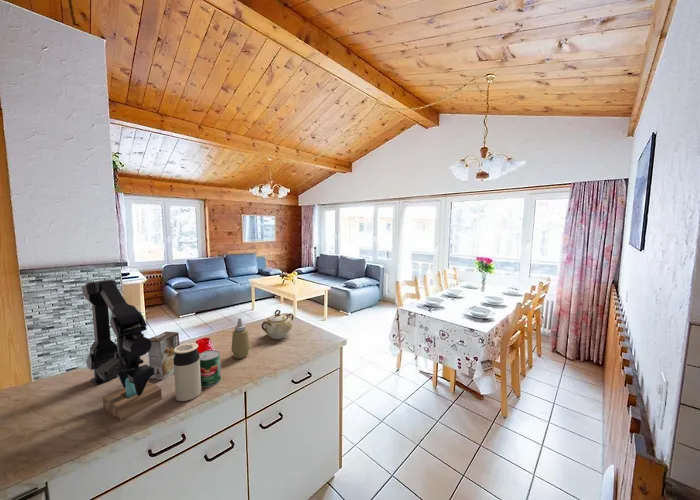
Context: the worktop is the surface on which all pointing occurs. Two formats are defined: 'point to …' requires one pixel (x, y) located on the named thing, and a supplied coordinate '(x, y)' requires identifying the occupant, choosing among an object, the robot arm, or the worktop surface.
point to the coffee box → (163, 354)
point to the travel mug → (187, 371)
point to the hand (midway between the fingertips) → (132, 391)
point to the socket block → (130, 401)
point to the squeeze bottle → (240, 340)
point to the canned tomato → (210, 368)
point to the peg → (130, 389)
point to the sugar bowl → (278, 325)
